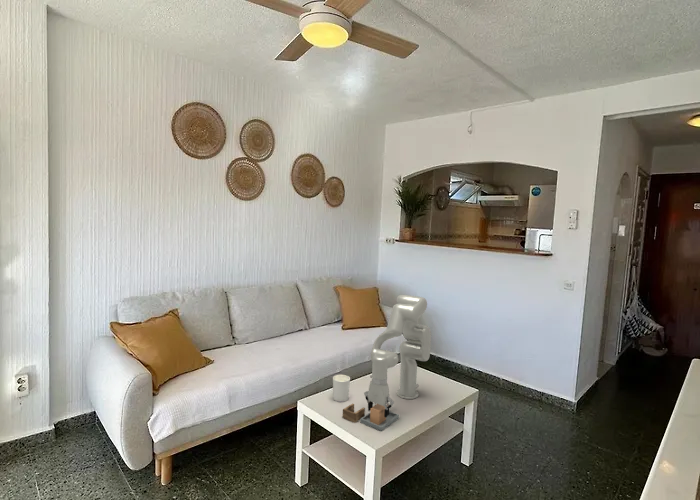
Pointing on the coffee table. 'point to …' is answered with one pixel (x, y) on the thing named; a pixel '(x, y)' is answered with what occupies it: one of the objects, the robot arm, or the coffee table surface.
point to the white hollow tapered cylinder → (341, 388)
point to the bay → (350, 415)
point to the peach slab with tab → (377, 414)
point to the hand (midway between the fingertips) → (378, 413)
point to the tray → (389, 420)
